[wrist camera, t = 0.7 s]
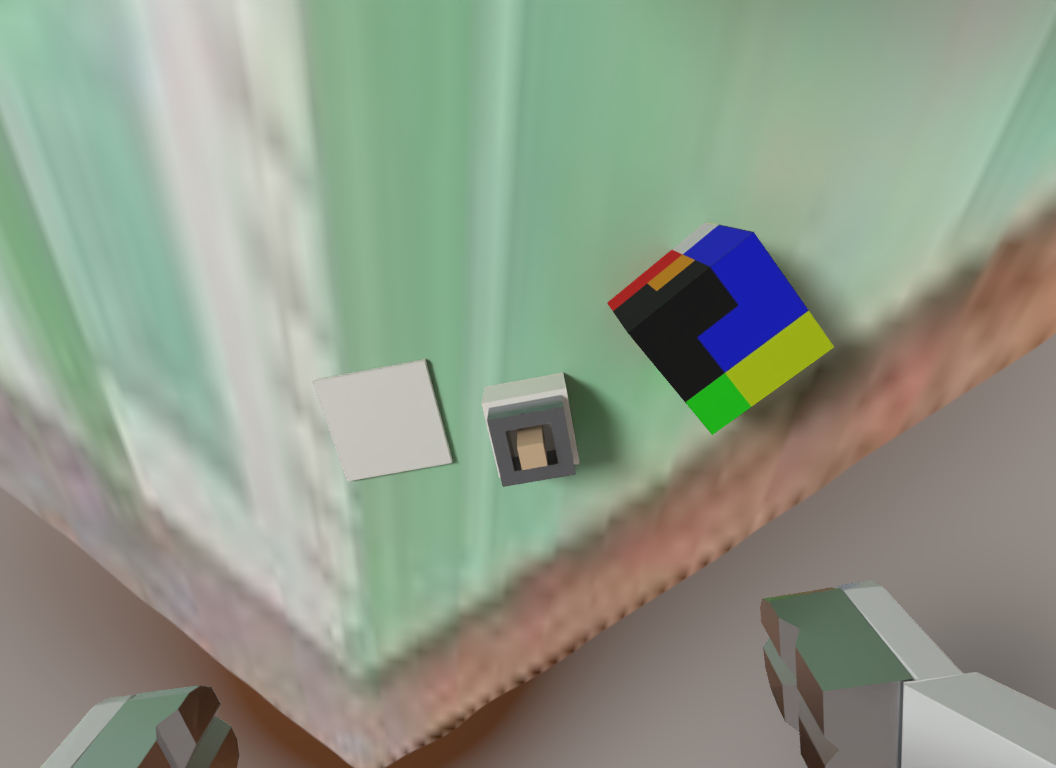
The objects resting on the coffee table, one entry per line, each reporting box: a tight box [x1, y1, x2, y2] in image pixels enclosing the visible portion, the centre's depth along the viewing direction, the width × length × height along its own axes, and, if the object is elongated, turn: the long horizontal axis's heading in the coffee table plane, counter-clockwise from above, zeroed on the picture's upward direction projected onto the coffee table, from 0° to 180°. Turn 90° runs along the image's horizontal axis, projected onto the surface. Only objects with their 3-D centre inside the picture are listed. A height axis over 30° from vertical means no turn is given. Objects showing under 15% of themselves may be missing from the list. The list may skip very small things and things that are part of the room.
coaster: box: [313, 359, 453, 481], centre depth 50 cm, size 10×10×1 cm
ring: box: [487, 395, 576, 487], centre depth 45 cm, size 6×6×2 cm
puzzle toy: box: [608, 222, 834, 435], centre depth 42 cm, size 10×10×10 cm
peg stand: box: [482, 372, 580, 478], centre depth 46 cm, size 7×7×8 cm
